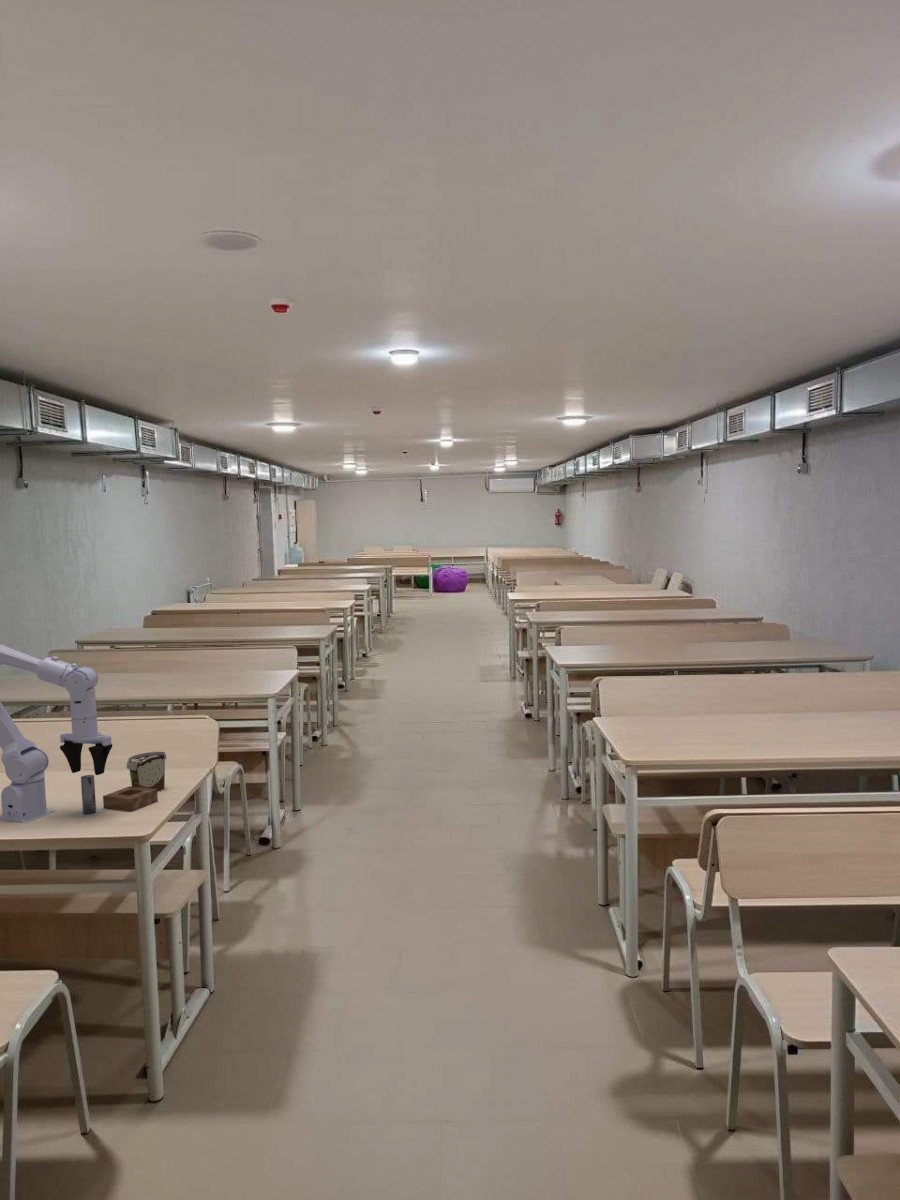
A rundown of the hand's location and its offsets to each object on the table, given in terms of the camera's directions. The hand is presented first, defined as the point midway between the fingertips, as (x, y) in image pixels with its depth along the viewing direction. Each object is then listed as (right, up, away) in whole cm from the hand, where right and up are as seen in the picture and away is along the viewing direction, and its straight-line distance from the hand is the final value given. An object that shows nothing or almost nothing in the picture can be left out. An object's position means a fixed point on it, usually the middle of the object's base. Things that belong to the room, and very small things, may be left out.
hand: (87, 773), depth 215 cm
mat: (0, -10, +1) cm, 10 cm away
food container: (+7, -9, +18) cm, 21 cm away
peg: (0, -10, +1) cm, 10 cm away
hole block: (+8, -10, +6) cm, 14 cm away
